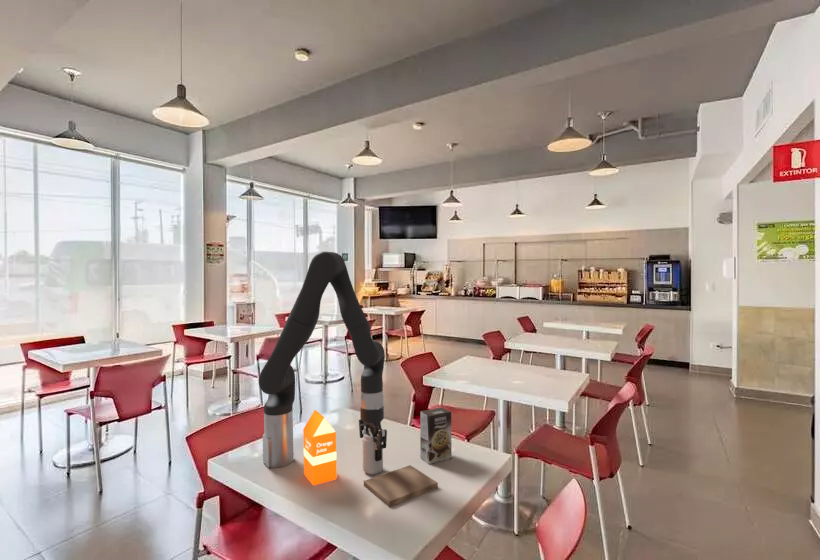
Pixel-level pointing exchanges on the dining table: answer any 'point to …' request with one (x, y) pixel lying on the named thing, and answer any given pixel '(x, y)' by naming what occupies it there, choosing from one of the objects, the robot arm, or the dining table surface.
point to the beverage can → (370, 456)
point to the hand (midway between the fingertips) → (372, 456)
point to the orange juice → (319, 450)
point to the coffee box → (435, 435)
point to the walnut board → (400, 485)
